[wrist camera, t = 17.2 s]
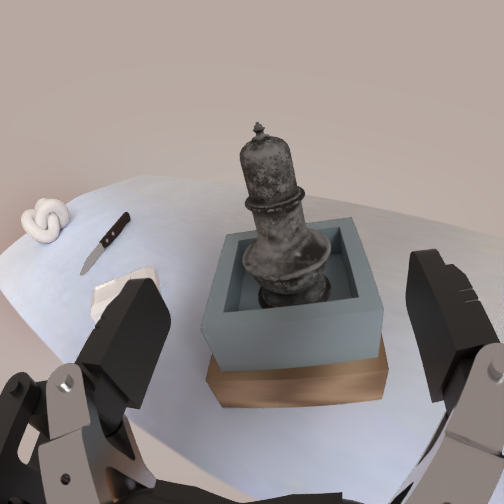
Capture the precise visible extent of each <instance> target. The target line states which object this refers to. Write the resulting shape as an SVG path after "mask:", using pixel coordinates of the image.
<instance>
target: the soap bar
mask: <svg viewBox="0 0 504 504" xmlns="http://www.w3.org/2000/svg"><path fill="white" fill-rule="evenodd" d="M140 278H151V279H152V280H153V281H154V282H155V284H156V286H157V288H158V290H159V292H160V294H161V291H160V285H159V279H158V275H157V273H156V271H155V269H154V268H152V267H144V268H142V269H139V270H137V271H134V272H132V273H129V274H127V275H124V276H122V277H119V278H117V279H114V280H112V281H109V282H107V283H104V284H102V285H99V286H97V287H95V288H94V290H93V294H92V302H91V310H90V317H91V318H92V320H93V321H94V322H95V324H97V322H98V320H99V319H101V318H100V317H101V315H102V313H103V312H104V310H105V308H106V307H107V305H108V304H109V303H110V302H111V301H112V300H113V299H114V298H115V297H116V296H117V295H119V293H120V292H121V290H122V288H123V287H124V285H125V284H126V282H127V281H128V280H130V279H140Z"/></svg>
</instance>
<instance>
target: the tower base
mask: <svg viewBox="0 0 504 504" xmlns="http://www.w3.org/2000/svg"><path fill="white" fill-rule="evenodd" d="M388 370H389V368H388V363H387V358H386V352H385V347H384V343H383V338H382V333H381V338H380V346H379V354H378V357H376V358H370V359H364V360H357V361H350V362H342V363H334V364H326V365H317V366H307V367H297V368H285V369H271V370H255V371H232V372H222V371H221V369H220V367H219V365H218V363H217V361H216V359H215V357H214V355H213V353H212V356H211V360H210V364H209V369H208V373H207V377H206V382H207V383H208V385H209V387H210V388H211V390H212V391H213V393H214V395H215V396H216V398H217V399H218V401H219V403H220V404H221V406H222V407H228V408H286V407H308V406H323V405H336V404H346V403H356V402H364V401H372V400H379V399H382V396H383V392H384V388H385V384H386V379H387V375H388Z"/></svg>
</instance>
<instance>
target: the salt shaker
mask: <svg viewBox="0 0 504 504" xmlns="http://www.w3.org/2000/svg"><path fill="white" fill-rule="evenodd" d="M264 129H265V128H264V127H262V125H261V124H259V123H258V122H257V123H256V125H255V126H254V129H253V131H254V132H255V133H256V136H255V137H253V138H252V141H250V142H248V143H247V144H246V145H245V146H244V147H243V148H242V150H241V152H240V162H241V166H242V170H243V173H244V177H245V181H246V185H247V189H248V193H249V197H248V198H247V199H246V201H245V207H246V208H247V209H248V210H251V211H252V213H253V217H254V221H255V225H256V229H257V235H258V237H257V239H256V240H255V241H253V242H252V243H251V244H250V245H249V246H248V247H247V248H246V250H245V252H244V254H243V265H244V267H245V269H246V271H248V272H249V273H250V274H251V275H252V277H253V278H254V280H255V281H256V282H257V283H258V284H259V285H260V286H261V287H260V290H259V293H258V301H259V303H260V305H261V307H262V308H263V309H268V308H277V307H287V306H296V305H304V304H313V303H321V302H326V301H327V300H328V298H329V295H330V293H331V284H330V282H329V279H328V278H327V277H326V276H325V275H324V274H323V272H324V270H325V267H326V264H327V259H328V257H329V255H330V252H331V244H330V241H329V239H328V238H327V237H326V236H325V235H324V234H323V233H321V232H319V231H317V230H315V229H310V228H307V226H306V224H305V220H304V214H303V209H302V203H301V200H302V199H303V198H304V196H305V192H304V190H303V189H302V188H301V187H299V186H297V183H296V178H295V173H294V168H293V163H292V158H291V153H290V149H289V146H288V144H287V143H286V142H285V141H284V140H283V139H280V138H278V137H272V136H269V135H268V134H264V132H263V130H264Z"/></svg>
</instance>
